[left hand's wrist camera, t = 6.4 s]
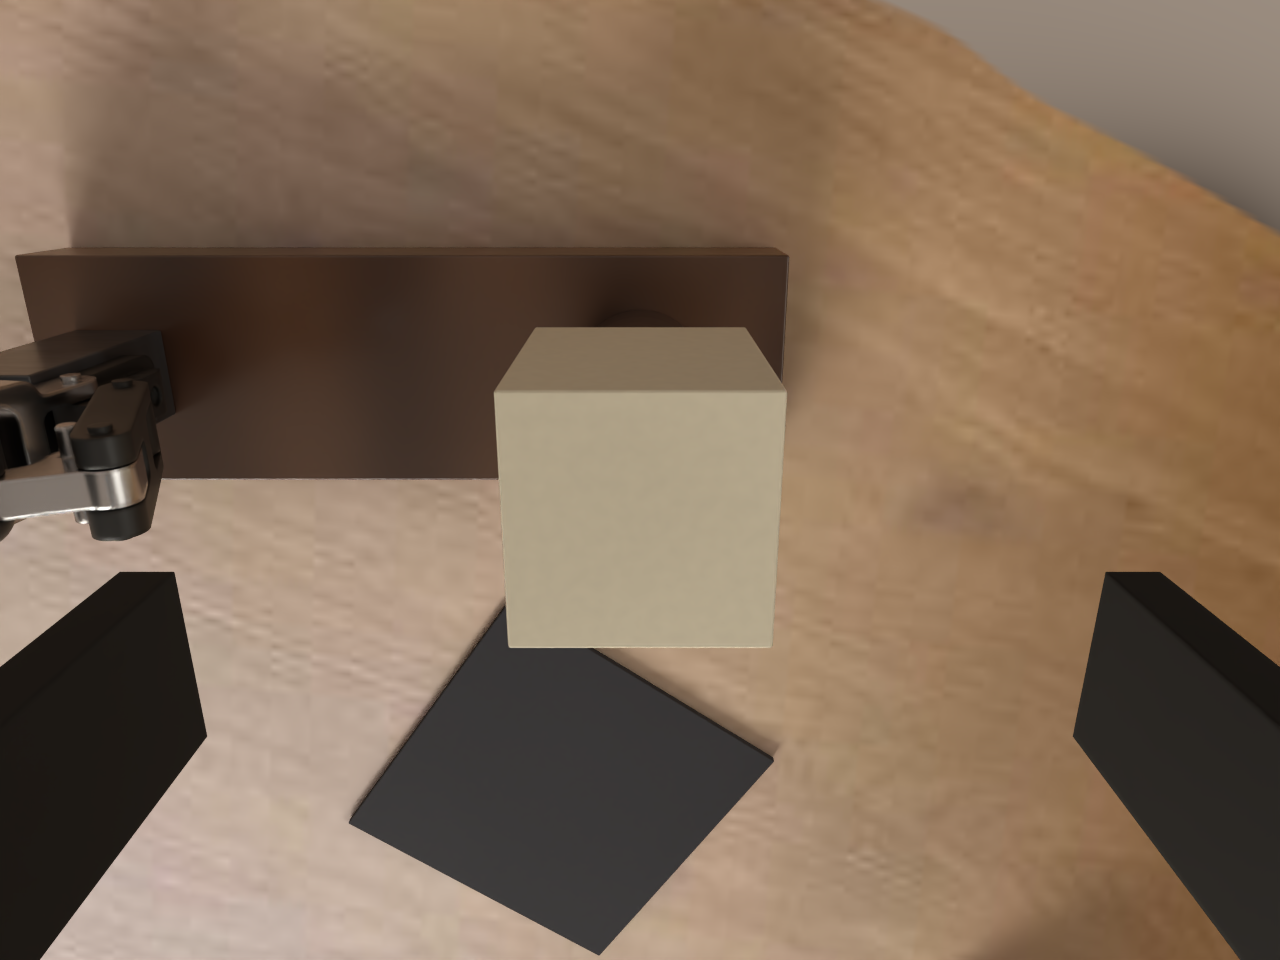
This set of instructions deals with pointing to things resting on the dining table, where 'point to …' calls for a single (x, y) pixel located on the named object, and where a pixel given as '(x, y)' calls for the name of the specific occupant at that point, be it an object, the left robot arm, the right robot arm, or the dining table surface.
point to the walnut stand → (359, 341)
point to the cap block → (640, 488)
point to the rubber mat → (558, 785)
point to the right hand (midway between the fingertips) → (89, 385)
